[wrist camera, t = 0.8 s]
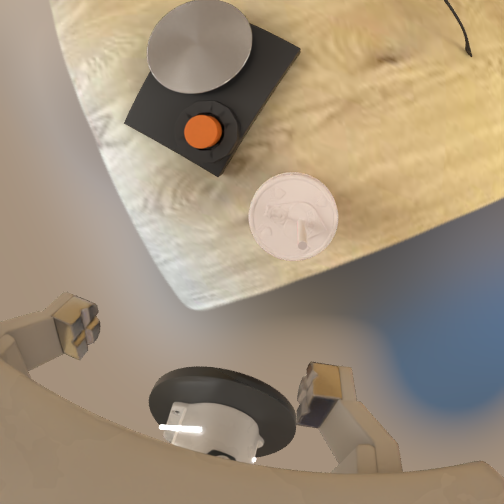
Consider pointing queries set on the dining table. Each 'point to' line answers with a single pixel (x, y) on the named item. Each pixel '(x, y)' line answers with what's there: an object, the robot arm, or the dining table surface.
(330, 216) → the smoothie
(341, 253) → the dining table surface
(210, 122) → the tare button
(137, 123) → the scale
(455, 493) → the robot arm
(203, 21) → the scale pan
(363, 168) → the dining table surface
